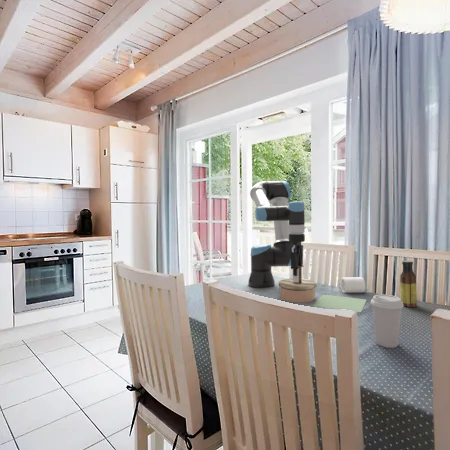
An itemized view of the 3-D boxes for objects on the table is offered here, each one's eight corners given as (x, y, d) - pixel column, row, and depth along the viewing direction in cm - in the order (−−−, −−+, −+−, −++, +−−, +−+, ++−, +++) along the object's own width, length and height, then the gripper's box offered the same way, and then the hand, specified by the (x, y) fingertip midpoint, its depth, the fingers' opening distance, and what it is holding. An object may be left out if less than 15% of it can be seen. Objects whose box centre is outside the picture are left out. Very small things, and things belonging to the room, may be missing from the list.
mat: (323, 295, 159) (323, 294, 159) (366, 300, 149) (366, 299, 149) (312, 307, 142) (312, 305, 142) (361, 313, 132) (361, 312, 132)
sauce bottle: (415, 304, 142) (415, 260, 141) (418, 308, 136) (419, 262, 135) (398, 303, 144) (399, 259, 143) (401, 307, 139) (401, 262, 137)
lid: (285, 279, 167) (285, 262, 167) (320, 282, 158) (320, 264, 158) (273, 287, 152) (272, 268, 151) (310, 291, 143) (310, 271, 142)
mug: (365, 294, 159) (365, 279, 159) (345, 295, 160) (345, 279, 159) (356, 288, 171) (356, 274, 171) (337, 289, 172) (337, 274, 171)
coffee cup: (364, 338, 107) (364, 294, 106) (391, 336, 108) (391, 293, 107) (381, 350, 98) (381, 302, 97) (410, 348, 99) (410, 301, 98)
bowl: (287, 292, 166) (287, 281, 166) (318, 296, 158) (318, 284, 158) (276, 300, 153) (275, 288, 152) (309, 305, 144) (309, 292, 144)
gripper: (299, 235, 144) (299, 285, 146) (309, 232, 159) (309, 278, 160) (283, 234, 148) (284, 284, 150) (294, 231, 163) (295, 277, 164)
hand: (297, 281), depth 155 cm, fingers closed on lid, 4 cm apart
